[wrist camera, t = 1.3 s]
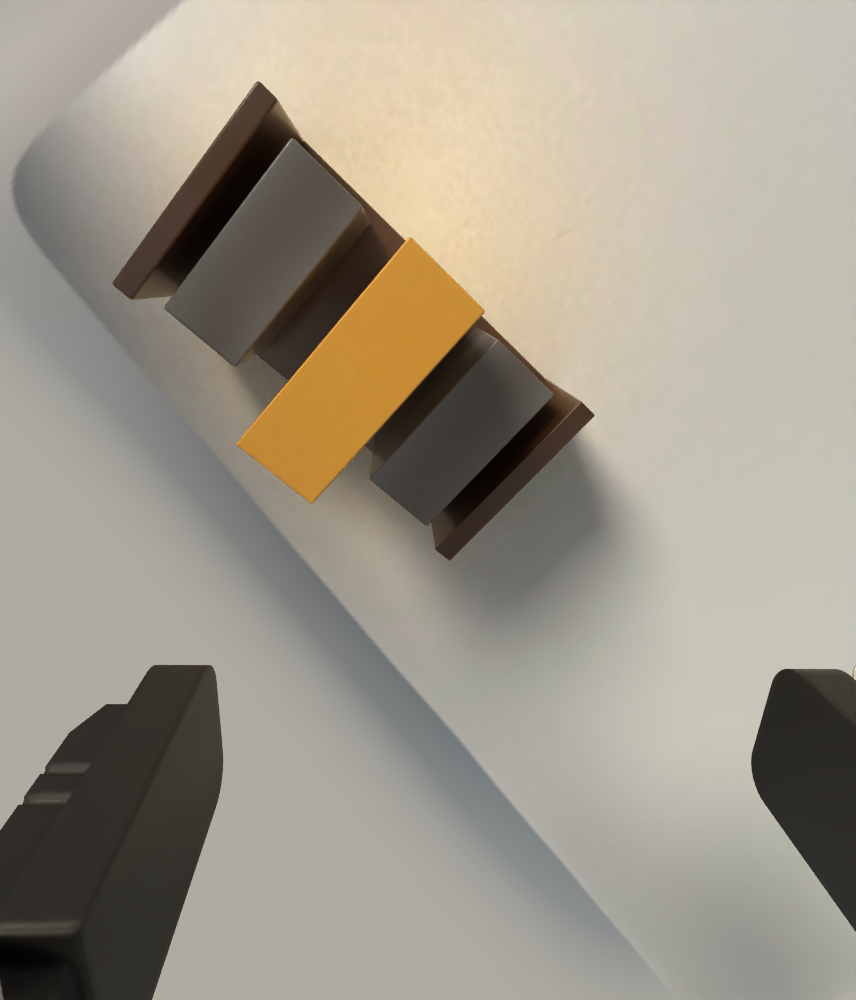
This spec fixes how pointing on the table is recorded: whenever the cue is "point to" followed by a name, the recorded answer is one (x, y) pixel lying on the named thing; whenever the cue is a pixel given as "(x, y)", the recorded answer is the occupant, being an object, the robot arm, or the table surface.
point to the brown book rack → (322, 303)
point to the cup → (854, 674)
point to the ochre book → (361, 372)
